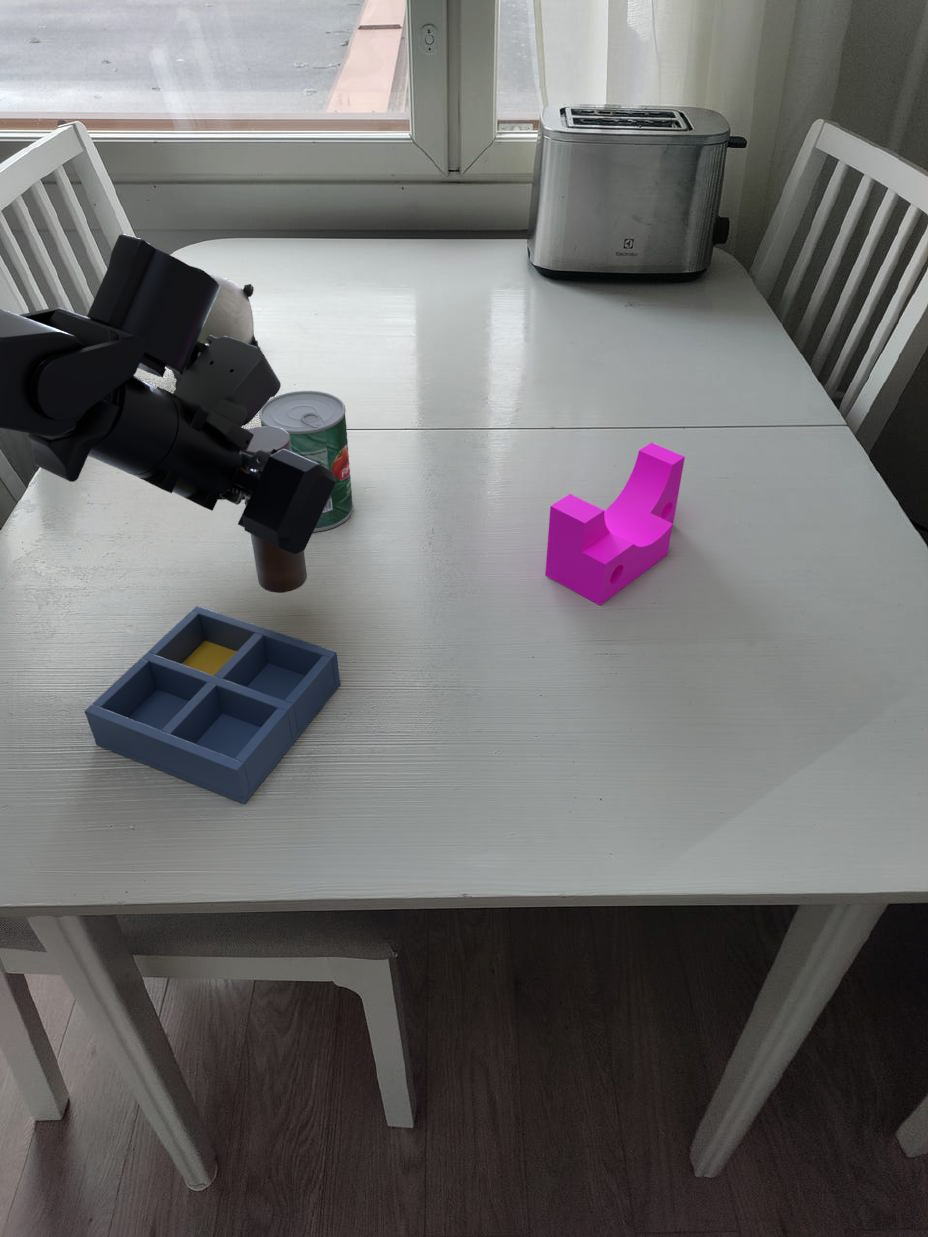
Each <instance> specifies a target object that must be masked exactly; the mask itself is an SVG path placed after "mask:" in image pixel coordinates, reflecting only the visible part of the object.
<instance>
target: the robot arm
mask: <svg viewBox="0 0 928 1237" xmlns="http://www.w3.org/2000/svg"><path fill="white" fill-rule="evenodd" d="M219 290H220V285H219V284H218V282H217V281H216V280H215V279H214V278H212V277H211V276H210V274H209V273H207V272H206V271H205V270H203V269H201V268H199V267H196V266H192V265H189V264H187V263H186V262H184V261H182V260H181V259H179V258H176V257H175V256H173V255H171V254H168V253H166V252H165V251H162V250H160V249H158V248H156V247H154V246H153V245H152V244H150V243H149V242H147V241H146V240H145V239H143V238H139V237H135V236H132V235H128V234H125V233H121V234H119V235H118V236H117V239H116V240H115V243H114V245H113V248H112V251H111V253H110V257H109V262H108V266H107V269H106V272H105V274H104V276H103V279H102V280H101V283H100V284H99V288H98V289H97V292H96V294H95V296H94V298H93V301H92V303H91V306H90V308H89V310H88V313H87V315H86V316H85V315H81V314H79V313H75V312H73V311H70V310H67V309H64V308H62V307H59V306H54V307H49V308H45V309H40V310H36V311H32V312H31V311H30V312H26V313H21V314H17V313H14V312H11V311H8V310H6V309H2V308H0V429H5V430H8V431H9V430H10V431H16V432H21V433H27V438H28V439H29V441H30V443H31V446H32V447H31V453H32V457H33V463H34V465H35V467H38V468H40V469H42V470H45V471H46V472H49V473H51V474H53V475H54V476H58V477H59V478H62V479H63V480H65V481H68V482H70V483H74V482H76V481H78V479H79V478H80V475H81V473H82V470H83V468H84V466H85V463H86V461H87V459H88V457H89V458H91V459H92V458H93V459H95V460H97V461H99V462H102V463H104V464H107V465H108V466H111V467H113V468H116V469H118V470H119V471H122V472H125V473H127V474H129V475H132V476H133V477H137V478H138V479H141V480H143V481H144V482H146V483H148V484H150V485H152V486H155V487H156V488H158V489H161V490H162V491H164V492H168V493H170V494H176V495H177V496H180V497H182V498H185V499H186V500H189V501H191V502H192V503H194V504H197V505H199V507H200V506H201V507H202V508H205V509H207V510H209V511H211V512H212V511H214V510H215V507H216V504H217V503H218V501H219V500H221V501H223V500H225V501H228V502H230V503H232V504H233V505H237V506H238V505H240V504H241V502H242V501H244V505H245V507H244V510H242V513H241V516H240V518H239V520H238V522H237V525H238V526H240V527H243V528H244V529H243V530H244V531H245V532H247V533H249V534H250V533H251V534H253V535H255V536H257V537H259V538H261V539H263V540H265V541H267V542H269V543H271V544H273V545H275V546H277V547H279V548H281V549H283V550H286V551H288V552H290V553H293V554H297V553H300V552H302V551H304V552H305V551H306V548H307V546H308V544H309V542H310V541H311V540H310V539H311V538H312V535H313V533H314V532H313V531H314V529H315V527H316V525H317V523H318V521H319V519H320V516H321V514H322V512H323V510H324V508H325V506H326V504H327V502H328V499H329V497H330V495H331V493H332V491H333V489H334V487H335V485H336V479H335V475H334V473H333V472H332V471H330V470H328V469H327V468H325V467H323V466H321V465H320V464H318V463H315V462H313V461H311V460H308V459H306V458H304V457H302V456H299V455H297V454H295V453H292V452H290V451H288V450H285V449H282V450H280V451H279V450H276V449H274V448H273V450H272V452H271V454H270V453H268V452H265V451H263V450H259V451H257V452H255V453H254V454H253V455H252V456H250V455H248V454H246V453H243V452H241V449H242V450H247V449H248V447H249V444H250V442H251V440H252V438H253V436H254V434H252V433H251V432H249V431H247V430H248V429H246V428H244V426H247V425H248V424H249V423H251V422H252V420H253V419H254V418H255V417H256V416H257V415H258V414H259V412H260V410H261V408H262V407H263V406H264V405H265V404H266V402H267V401H269V400H270V399H272V398H274V397H276V396H277V394H278V393H279V392H280V390H281V386H282V384H281V383H282V382H281V381H280V379H279V378H278V375H277V374H276V373H275V371H274V369H273V368H272V366H271V364H270V363H269V360H268V358H266V356H265V354H264V352H263V350H262V349H261V348H260V349H261V350H260V349H259V348H257V347H254V346H252V345H249V344H246V343H244V342H241V341H238V340H236V339H233V338H230V337H220V338H216V337H213V336H210V335H209V336H208V337H207V338H206V340H207V341H208V344H204V343H202V342H199V341H197V340H198V338H199V336H200V333H201V331H202V329H203V326H204V324H205V322H206V320H207V317H208V315H209V313H210V310H211V308H212V306H213V304H214V301H215V299H216V297H217V295H218V292H219ZM199 352H200V354H199V356H198V353H199ZM138 369H140V370H142V371H144V372H146V373H149V374H150V375H154V376H156V377H159V378H163V377H164V376H165V373H166V372H167V369H168V370H170V371H171V372H172V374H173V377H174V379H175V383H174V387H175V389H174V391H173V392H171V391H170V390H167V389H164V388H162V387H159V386H156V387H155V386H153V385H151V384H150V383H148V382H146V381H144V380H143V379H140V378H139V377H137V376H135V375H136V373H137V371H138ZM241 467H242V468H244V469H246V470H248V471H249V474H247V473H245V472H243V471H240V468H241ZM252 468H253V469H255V470H257V471H255V470H252ZM245 497H247V498H248V499H246V500H245ZM251 534H250V535H251Z"/></svg>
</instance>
